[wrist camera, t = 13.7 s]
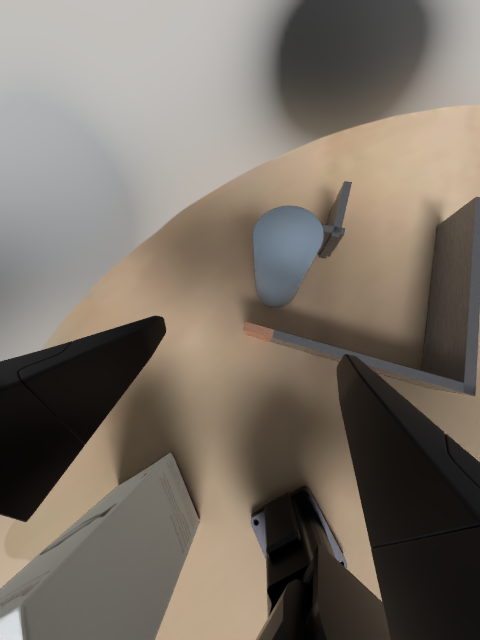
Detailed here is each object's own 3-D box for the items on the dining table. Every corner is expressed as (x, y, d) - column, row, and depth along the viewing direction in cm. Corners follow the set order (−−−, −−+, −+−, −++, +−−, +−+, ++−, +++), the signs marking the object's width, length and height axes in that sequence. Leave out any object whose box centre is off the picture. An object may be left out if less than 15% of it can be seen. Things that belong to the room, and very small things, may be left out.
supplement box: (172, 448, 19) (21, 602, 7) (202, 522, 18) (67, 898, 5) (116, 483, 19) (-136, 700, 7) (139, 561, 17) (-145, 1037, 5)
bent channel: (444, 227, 21) (485, 198, 17) (428, 388, 18) (475, 396, 14) (286, 203, 25) (290, 175, 21) (246, 334, 21) (243, 328, 17)
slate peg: (303, 293, 22) (338, 239, 12) (270, 315, 21) (279, 278, 12) (280, 264, 23) (294, 194, 13) (248, 284, 23) (240, 229, 13)
